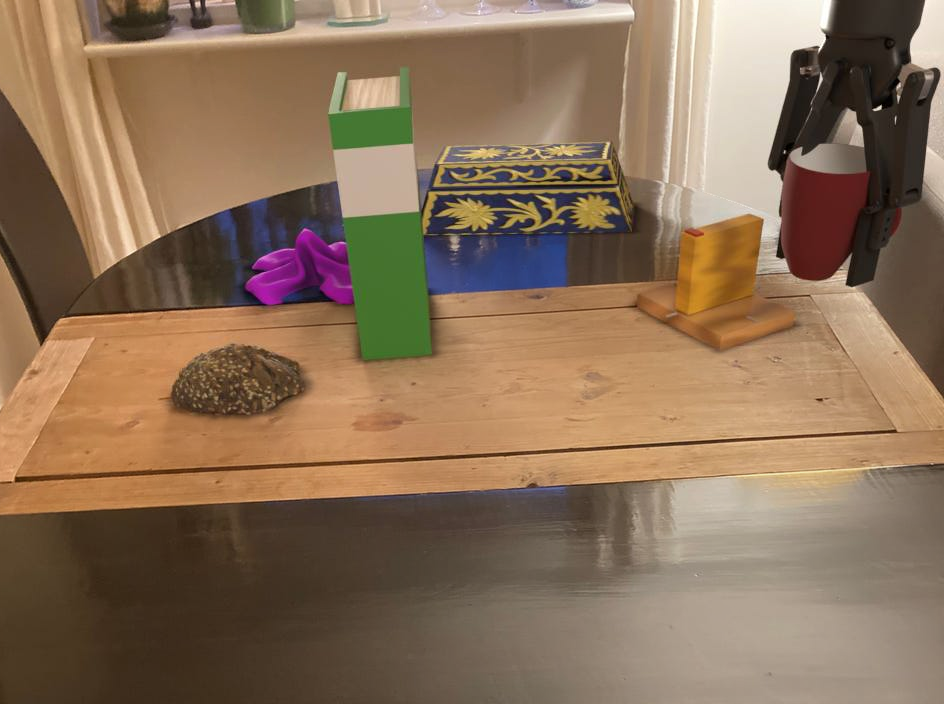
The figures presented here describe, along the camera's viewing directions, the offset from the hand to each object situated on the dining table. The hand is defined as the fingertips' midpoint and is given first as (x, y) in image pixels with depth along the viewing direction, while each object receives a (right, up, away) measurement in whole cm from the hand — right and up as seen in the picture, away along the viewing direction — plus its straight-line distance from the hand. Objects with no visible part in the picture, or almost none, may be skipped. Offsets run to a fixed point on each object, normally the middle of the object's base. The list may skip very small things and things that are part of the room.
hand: (823, 268), depth 89 cm
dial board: (-6, 0, +16) cm, 17 cm away
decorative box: (-25, +23, +43) cm, 55 cm away
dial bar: (-6, +2, +15) cm, 16 cm away
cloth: (-52, +12, +33) cm, 63 cm away
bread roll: (-56, -9, +10) cm, 58 cm away
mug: (0, 0, 0) cm, 1 cm away
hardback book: (-41, +1, +20) cm, 45 cm away
